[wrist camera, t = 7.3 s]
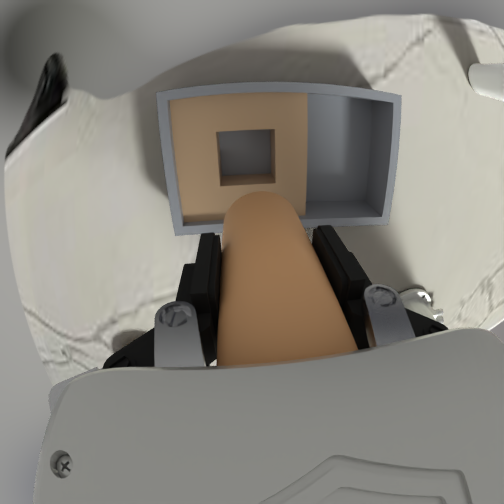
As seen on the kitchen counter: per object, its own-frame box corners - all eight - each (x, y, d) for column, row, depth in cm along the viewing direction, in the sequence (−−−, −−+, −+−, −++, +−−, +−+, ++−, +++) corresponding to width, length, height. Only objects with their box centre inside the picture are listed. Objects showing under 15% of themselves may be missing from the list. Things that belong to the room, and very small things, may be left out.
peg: (299, 189, 14) (390, 347, 5) (296, 255, 16) (349, 419, 7) (219, 193, 14) (202, 370, 5) (226, 260, 16) (226, 435, 7)
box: (375, 93, 26) (401, 95, 21) (367, 205, 34) (387, 224, 29) (170, 93, 26) (155, 92, 21) (184, 213, 34) (175, 235, 29)
